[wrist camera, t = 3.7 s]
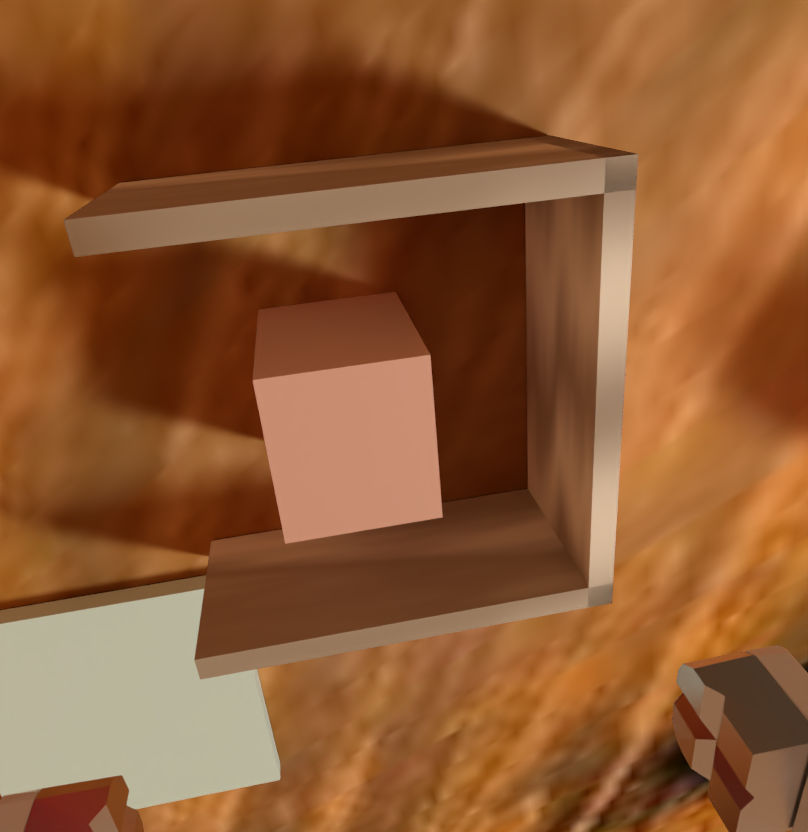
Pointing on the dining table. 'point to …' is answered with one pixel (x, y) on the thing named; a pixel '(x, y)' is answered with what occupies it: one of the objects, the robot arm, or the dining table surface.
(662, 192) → the dining table surface
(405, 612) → the open box
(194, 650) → the green mat
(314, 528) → the block
